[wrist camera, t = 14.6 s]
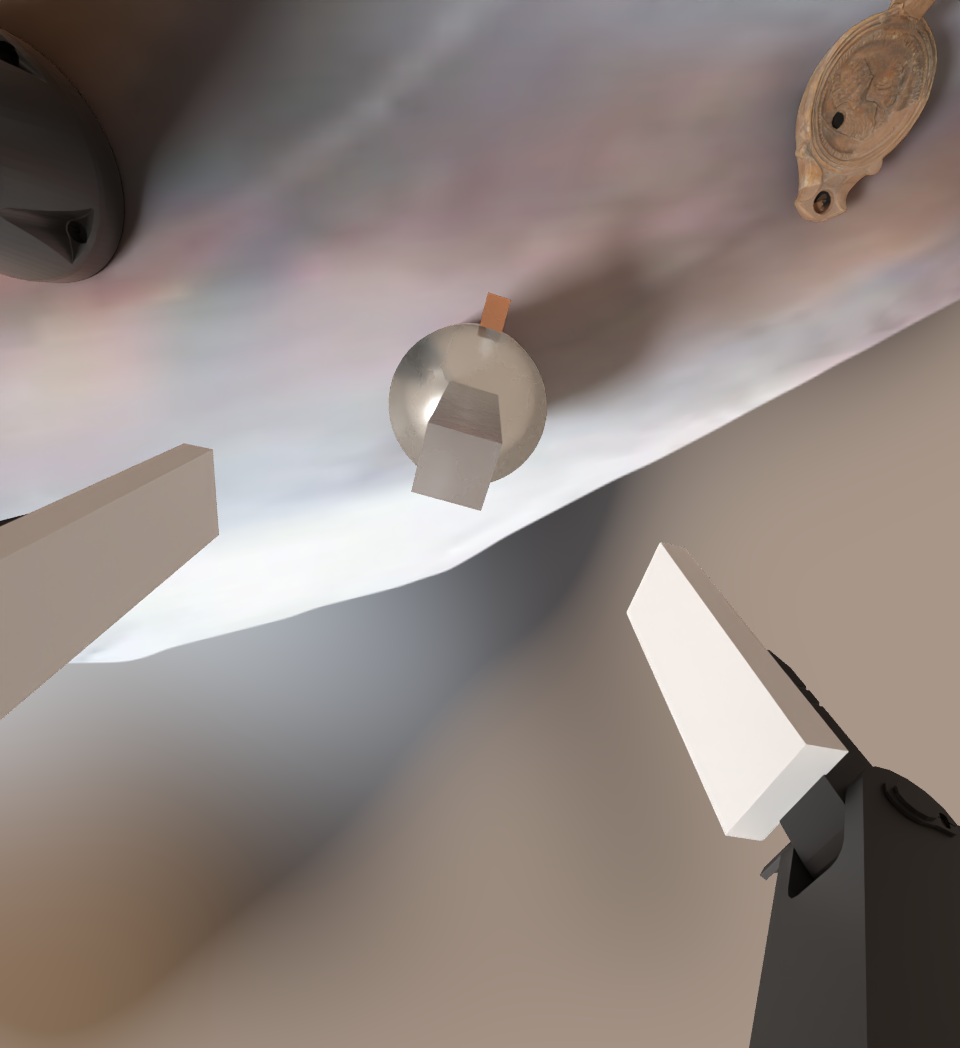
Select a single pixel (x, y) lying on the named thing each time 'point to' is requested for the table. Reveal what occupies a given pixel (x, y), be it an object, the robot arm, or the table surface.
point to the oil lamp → (862, 104)
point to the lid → (467, 407)
